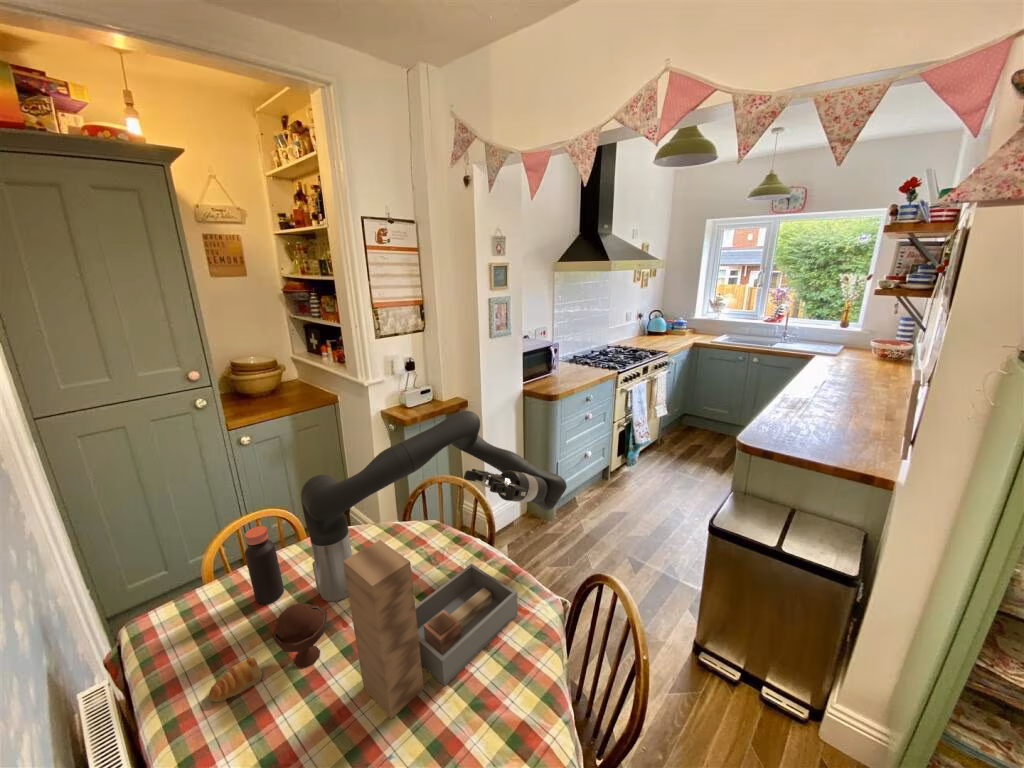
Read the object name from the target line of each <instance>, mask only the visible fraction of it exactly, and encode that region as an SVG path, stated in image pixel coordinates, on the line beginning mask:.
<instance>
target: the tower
mask: <svg viewBox="0 0 1024 768" xmlns="http://www.w3.org/2000/svg"><path fill="white" fill-rule="evenodd" d="M343 565H344V571H345V577H346V583H347V589H348V595H349V596H348V601H349V602H348V603H349V607H350V613H351V619H352V625H353V626H352V627H353V632H354V637H355V643H356V648H357V649H356V650H357V655H358V656H357V657H358V660H359V661H358V662H359V668H360V674H361V675H360V676H361V679H362V684H363V685H362V687H363V689H364V690H365V691H366V693H368V695H369V696H370V697H371V698H372V699H373V700H374V701H375V703H376V704H377V705H378V706H379V707H380V708H381V710H382V711H383V712H384V713H385V714H386V715H387V717H389V719H390V720H392V719H394V717H395V716H396V715H398V714H399V713H400V712H401V711H402V710H403V709H404V708H405V707H406V706H407V705H409V703H411V702H412V700H414V699H415V698H416V697H417V696H418V695H419V694H420V693H421V692H422V691H423V690H424V689H425V687H424V679H423V678H424V677H423V668H422V667H423V666H422V665H421V657H420V648H419V638H418V629H417V620H416V610H415V606H416V604H415V603H416V602H415V591H414V586H413V585H414V584H413V583H414V582H413V575H412V566H411V561H410V560H409V559H408V558H407V557H405V556H403V555H402V554H401V553H399V552H398V551H397V550H395V549H394V548H392V547H391V546H389V545H388V544H387V543H385V542H384V541H382V540H381V539H379V540H377V541H375V542H374V543H372V544H370V545H369V546H366V547H364V548H363V549H362V550H359V551H358V552H357V553H354V554H352V556H351V557H349V558H347V559H346V560H344V561H343Z"/></svg>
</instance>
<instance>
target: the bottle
mask: <svg viewBox="0 0 1024 768" xmlns="http://www.w3.org/2000/svg"><path fill="white" fill-rule="evenodd" d="M244 539H245V542H246V545H247V547H246V549H245V550H244V557H245V561H246V566H247V571H248V574H249V579H250V582H251V586H252V590H253V595H254V598H255V601H256V603H257V604H259V605H268V604H271V603H274V602H276V601H277V600H278V599H280V598H281V597H282V596H283V594H284V591H285V586H284V582H283V578H282V574H281V569H280V563H279V560H278V554H277V549H276V545H275V542H273V540H271V539H269V532H268V529H267V527H266V526H263V525H262V526H261V525H260V526H259V525H258V526H255V527H253V528H250V529H249V530H247V531H246V532H245V534H244Z"/></svg>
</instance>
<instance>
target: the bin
mask: <svg viewBox="0 0 1024 768" xmlns="http://www.w3.org/2000/svg"><path fill="white" fill-rule="evenodd" d="M482 588H485V589H486V590H488V591H489V592H491V593H492V603H491V604H490V605H489V606H488V607H487V608H485V609H484V610H483V611H482V612H481V613H480V614H479V615H477V616H476V617H475V618H474V619H473V620H472V621H470V622H469V623H468V624H467V625H466V626H465V627H463V628H462V629H461V637H460V638H459V639H458V640H457V641H456V642H455V643H453V644H452V645H451V646H450V647H449V648H448V649H447V650H445V651H444V652H443V653H442V654H441V653H440V652H439V651H438V650H436V649H435V648H434V647H433V646H432V645H431V644H430V643H429V642H428V641H427V640H425V635H424V625H425V624H426V623H427V622H429V621H430V620H431V619H432V618H434V617H435V616H436V615H438V614H439V613H440V612H441V611H443V610H445V611H446V612H447V613H448V614H451V613H453V612H454V611H455V610H456V609H458V608H459V607H460V606H461V605H463V604H464V603H465V602H466V601H467V600H469V599H470V598H471V597H472V596H474V595H475V594H476V593H477V592H479V591H480V590H481V589H482ZM415 610H416V620H417V629H418V638H419V648H420V657H421V666H422V667H423V668H424V669H425V670H426V671H427V672H428V673H429V674H430V675H431V676H432V677H433V678H435V680H436V681H438V682H439V683H440V684H441V685H442V686H443V687H446V686H447V685H448V684H449V683H450V682H451V681H452V680H453V679H454V678H455V677H456V676H457V675H458V674H460V672H461V671H462V670H463V669H464V668H465V667H466V666H467V665H469V663H470V662H471V661H472V660H473V659H474V658H475V657H477V656H478V654H479V653H481V651H482V650H483V649H485V648H486V646H488V644H489V643H491V642H492V640H494V639H495V638H496V637H497V636H498V635H499V634H500V633H499V632H502V631H503V630H502V629H503V628H504V629H505V628H506V627H507V626H508V625H509V624H510V623H511V622H512V621H514V619H515V618H516V617H517V616H518V592H517V591H516V590H514V589H512V588H511V587H509V586H508V585H506V584H505V583H503V582H501V581H500V580H498V579H496V578H495V577H494V576H492V575H490V574H489V573H487V572H486V571H484V570H482V569H481V568H479V567H477V566H476V565H475V564H472V563H471V564H469V565H467V566H466V567H465V568H463V570H461V571H459V572H458V573H457V574H455V575H454V576H452V578H450V579H449V580H447V582H445V583H444V584H442V585H441V586H440V587H438V588H437V589H436V590H435V591H433V592H432V593H430V594H429V595H428V596H426V597H425V598H424V599H422V600H421V601H420V602H418V603H417V604H415ZM510 621H511V622H510ZM509 622H510V623H509ZM508 623H509V624H508ZM507 624H508V625H507ZM506 625H507V626H506ZM505 626H506V627H505ZM498 633H499V634H498Z"/></svg>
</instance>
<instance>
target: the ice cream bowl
mask: <svg viewBox="0 0 1024 768" xmlns="http://www.w3.org/2000/svg"><path fill="white" fill-rule="evenodd" d="M327 620H328V612H327V610H325V609H324V608H323V607H322V606H321V605H320V604H319V605H318V604H317V605H315V604H314V605H312V604H311V605H310V604H309V603H303V602H302V603H301V602H300V603H299V602H297V603H294V604H292V605H289V606H287V607H286V608H285V609H284V610H282V611H281V612H280V614H279V615H278V617H277V619H276V623H275V626H274V628H273V632H272V640H273V641H274V642H275V644H277V646H278V647H279V648H280V649H281V650H282V651H283V652H285V653H296V654H295V658H294V661H293V662H294V663H293V665H294V666H295V667H296V668H297V669H306V668H309V667H310V666H312V665H314V664H316V662H317V661H318V660H319V658H320V656H321V649H320V648H318V647H319V646H317V645H315V644H316V643H317V642H318V641H319V640H320V638H322V636H324V634H325V631H326V628H327Z"/></svg>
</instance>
